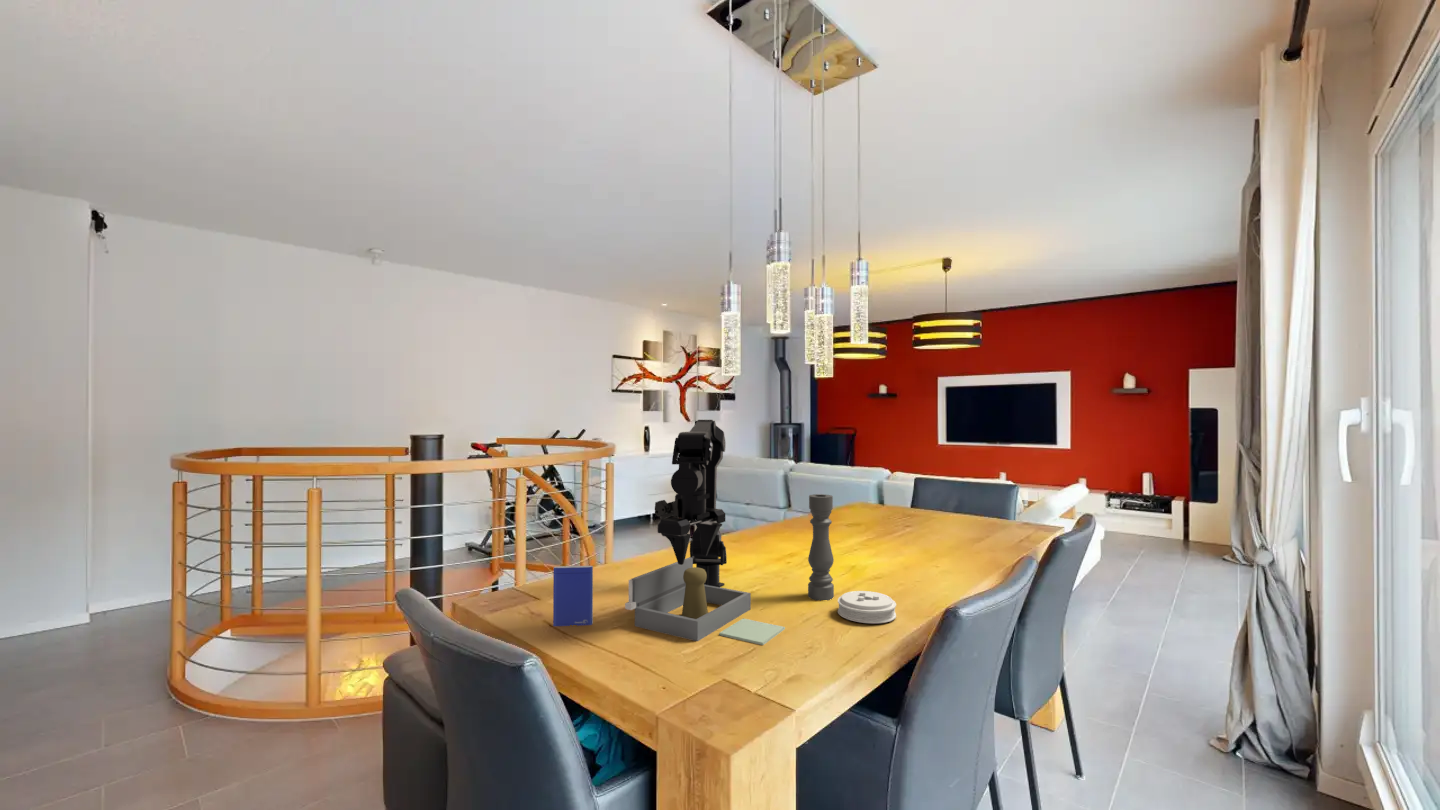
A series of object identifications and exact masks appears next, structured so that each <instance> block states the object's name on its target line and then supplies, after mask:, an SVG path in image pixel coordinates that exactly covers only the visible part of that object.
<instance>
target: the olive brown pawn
mask: <svg viewBox="0 0 1440 810" xmlns="http://www.w3.org/2000/svg"><path fill="white" fill-rule="evenodd" d="M683 579H684V582H685V583H686V586H685V594H684V602H683V605H682V609H681V610H682V611H681V616H684V617H688V618H693V619H698V618H699V617H701V616H703V615H705V614H707V613H709V612H708V605H707V602H706V594H705V586H704V583H705V582H706V579H707V574H706V571H705V570H704V569H702V568H698V567H696V566H695V567H694V566H693V568H688V569H686V570H685V572H684V575H683Z"/></svg>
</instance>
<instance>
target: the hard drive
mask: <svg viewBox="0 0 1440 810" xmlns="http://www.w3.org/2000/svg"><path fill="white" fill-rule="evenodd" d="M593 569H594V565H565V566H563V565H562V566H561V565H560V566H559V565H557V566H553V580H552V581H553V582H552V583H553V598H552V599H553V604H552V605H553V607H552V608H553V613H552V614H553V616H552V617H553V620H552V626H553V627H573V625H577V626H592V625H593V623H594V621H593V620H594V616H593V615H594V611H593V610H594V596H593V595H594V590H593V589H594V574H593V573H594V570H593ZM570 625H572V626H570Z"/></svg>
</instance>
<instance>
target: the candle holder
mask: <svg viewBox="0 0 1440 810" xmlns="http://www.w3.org/2000/svg"><path fill="white" fill-rule="evenodd" d="M833 500H834V497H833V495H831V494H822V493H820V494H818V493H817V494H816V493H815V494H809V496H808V509H809V511H810V513H811V516H812V518H811V519H810V520H809V523H810V524H811V526H812V540H811V544H810V549H809V553H808V556H807V558H808V559H807V560H808V561H807V562H808V564H809V566H810V567H811V571H812V573H811V574H810V576H809V577H808V579H809V581H810V582H808V583H807V584H808V585H807V597H808V598H809V599H811V600H814V601H818V600H820V602H821V600H827V601H831V600H833V599H834V598H835V597H834V596H835V595H834V593H835V592H834V591H835V588H834V584H833V583H832V582H833V581H834V580H833V577H832V575H831V574H830V572H831V568H832V566H833V564H834V555H833V552H832V546H831V542H830V525H831V524H832V522H833V521H832V520H831V519H830V517H831V514H832V510H833V509H834V507H833V506H834V505H833V503H834V501H833ZM833 597H834V598H833ZM832 598H833V599H832ZM830 599H831V600H830Z"/></svg>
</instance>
